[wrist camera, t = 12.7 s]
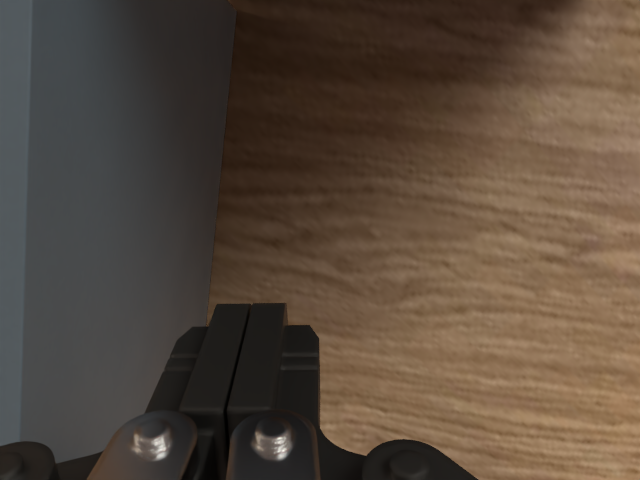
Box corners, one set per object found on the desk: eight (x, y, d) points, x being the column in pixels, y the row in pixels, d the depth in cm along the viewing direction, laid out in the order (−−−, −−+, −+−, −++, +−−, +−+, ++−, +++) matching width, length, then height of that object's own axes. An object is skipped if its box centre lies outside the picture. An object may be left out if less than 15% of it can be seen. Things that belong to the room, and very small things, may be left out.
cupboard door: (118, 344, 43) (-185, 633, 18) (141, -2, 38) (-237, -251, 13) (203, 356, 43) (13, 663, 18) (236, 10, 38) (38, -215, 13)
